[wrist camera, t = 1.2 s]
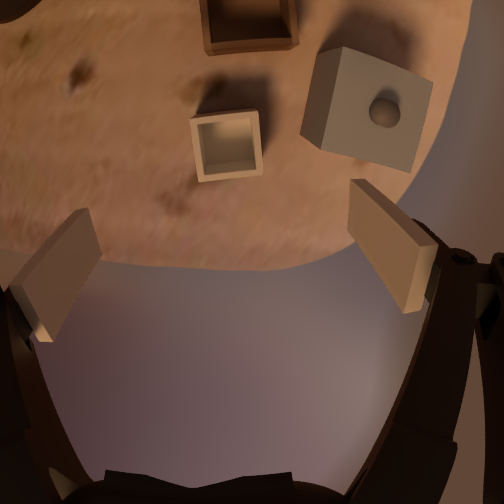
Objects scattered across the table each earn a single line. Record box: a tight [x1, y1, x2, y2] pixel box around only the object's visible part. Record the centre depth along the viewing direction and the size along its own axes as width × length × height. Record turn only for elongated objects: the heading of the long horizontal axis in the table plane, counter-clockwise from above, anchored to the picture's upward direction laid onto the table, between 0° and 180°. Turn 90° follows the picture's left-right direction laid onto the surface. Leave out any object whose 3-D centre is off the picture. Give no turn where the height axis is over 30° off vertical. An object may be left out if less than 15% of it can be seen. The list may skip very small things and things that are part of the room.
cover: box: [300, 46, 433, 173], centre depth 25 cm, size 9×9×9 cm
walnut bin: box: [199, 0, 300, 56], centre depth 22 cm, size 8×8×5 cm
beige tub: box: [190, 108, 264, 182], centre depth 29 cm, size 6×6×4 cm
